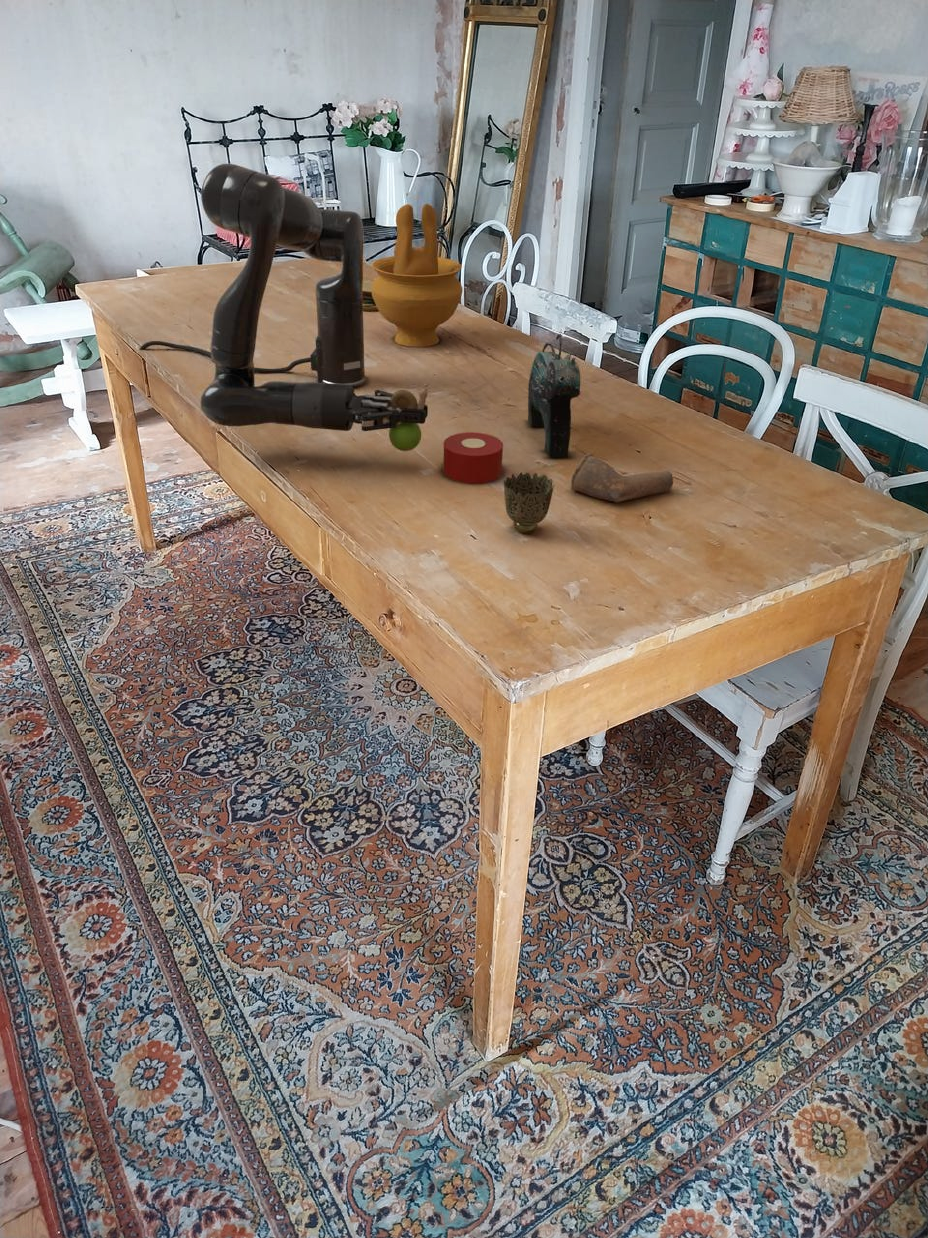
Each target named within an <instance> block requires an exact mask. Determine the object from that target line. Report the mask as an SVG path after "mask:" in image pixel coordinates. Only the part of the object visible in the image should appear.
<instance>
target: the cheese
mask: <svg viewBox="0 0 928 1238" xmlns="http://www.w3.org/2000/svg"><path fill="white" fill-rule="evenodd" d="M503 452H504V444H503V441H502V440H501V439H499V437H496V436H494V435H491V434H488V433H483V432H469V431H468V432H459V433H455V434H452V435H450V436H448V437H446V438H445V439H444V441H443V454H442V455H443V457H442V458H443V460H442V462H443V463H442V473H443V474H444V475H445V477H447V478H449V479H451V480H453V481H456V482H460V483H465V484H485V483H491V482H493V481H495V480H497V479H499V478H500V477H501V475H502V471H503V469H502V468H503V454H504V453H503Z"/></svg>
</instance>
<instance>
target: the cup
mask: <svg viewBox="0 0 928 1238" xmlns="http://www.w3.org/2000/svg"><path fill="white" fill-rule="evenodd" d="M503 487H504V488H503V489H504V503H505V511H506V514H507V516H508V518H509V519H510V520H511V521H512V522H513V528H514V530H515V531H516V532H518V533H521V534H527V535H528V534H533V533H535V532H536V531H537V529H538V528H539V523H541V522H542V521H544V519H545V518H546V516H547V515H548V512H549V509H550V505H551V501H552V497H553V493H554V488H555V484H553V479H552V478H549V477H548V476H547V475H546V474H542V475H541V476H539V475H538V473H537V472H534V473H533V474H532V475H531V473H529V472H528V471H526V472H522V471H521V472H520V473H519V474H518V475H517V476H516V475H515V473H512V474H511V477H510V476H508V475H506V476H505V479H504V480H503Z"/></svg>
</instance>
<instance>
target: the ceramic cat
mask: <svg viewBox="0 0 928 1238" xmlns="http://www.w3.org/2000/svg"><path fill="white" fill-rule="evenodd" d="M555 338H556V341H557V340H558V339H559V350H558V353H556V350H555V348H554V346H553V344H552V343H551V342H546V343H544V345H543V348H542V351H539V352H537V354H536V355H535V357H534V359H533V362H532V365H531V368H530V369H531V370H530V374H529V380H528V387H527V391H528V392H527V421H528V425H529V426H530V427H531V428H544V435H545V436H544V452H545V453H546V454H547V457H548V458H550V459H559V458H568V456H569V448H570V441H571V435H572V433H571V432H572V431H571V429H572V428H571V426H572V409H571V405H572V404H571V402H572V400H573V399H574V398H578V397H579V396H580V395H581V371H580V367H579V364H578V363H577V361H576V357H573V358H571V356H572V352H570V353H568V354H567V355H566V356H565V357H564V358H562V355H561V354H562V346H563V339H562V334H561V333H558V334H557V336H556V337H555ZM548 346H549V347H550V348H551V351H546V349H547V347H548Z"/></svg>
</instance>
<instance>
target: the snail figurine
mask: <svg viewBox="0 0 928 1238" xmlns="http://www.w3.org/2000/svg"><path fill="white" fill-rule="evenodd" d="M423 386H424V388H425V389H421V390H419V392H418V395H419V399H418V400H417V398H416V396H415V395H414V393H412V392H411V391H410V390H407V389H398V390H396V391H395V392H394V393H392V394H393V396H392V398H391V405H392V407H399V408H402V411H403V408H409V409H421V410H423V409H424V405H426V401H427V397H428V394H429V392H428V386H429V382H425V383H424V384H423ZM388 432H389V433H388V438H389V441H390V443H391V445H392V446H393V447H394V448H395V449H396V450H399V451H402V452H408V451H412V450H414V449H415V448H417V447H418V445H419V444H420V443H421V439H422V429H421V427H420V426H419V424H418V423H405V422H402V424H397V427H395V428H389V431H388Z"/></svg>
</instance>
